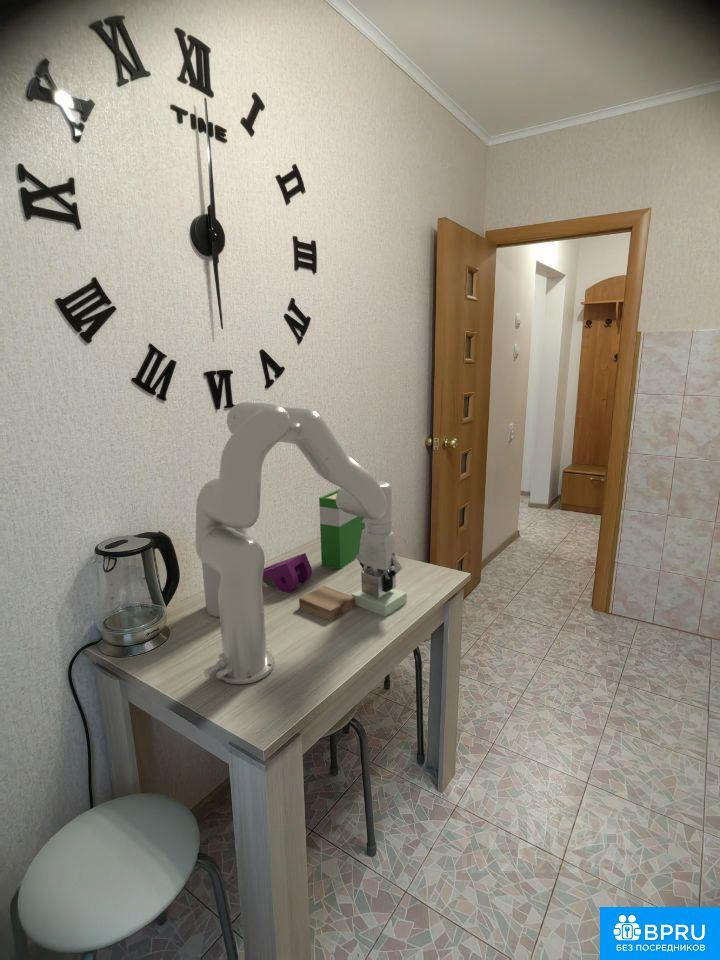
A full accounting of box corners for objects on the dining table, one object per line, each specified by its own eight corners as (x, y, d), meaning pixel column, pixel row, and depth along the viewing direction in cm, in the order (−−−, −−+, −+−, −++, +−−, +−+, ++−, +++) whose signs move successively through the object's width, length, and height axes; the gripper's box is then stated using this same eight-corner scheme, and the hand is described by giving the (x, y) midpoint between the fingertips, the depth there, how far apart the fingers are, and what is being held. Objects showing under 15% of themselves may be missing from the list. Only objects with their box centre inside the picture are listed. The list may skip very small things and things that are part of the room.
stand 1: (330, 621, 131) (330, 610, 130) (299, 607, 138) (299, 598, 137) (354, 606, 138) (354, 597, 137) (324, 595, 146) (323, 585, 145)
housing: (378, 597, 134) (378, 574, 133) (361, 591, 138) (361, 568, 136) (395, 587, 140) (395, 564, 139) (378, 582, 144) (378, 559, 142)
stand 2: (385, 616, 133) (385, 606, 132) (351, 603, 140) (351, 593, 139) (406, 602, 140) (406, 592, 139) (373, 591, 148) (373, 581, 147)
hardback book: (347, 548, 182) (346, 486, 177) (365, 551, 179) (364, 488, 173) (321, 565, 167) (319, 497, 162) (340, 569, 164) (338, 500, 158)
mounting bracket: (257, 601, 155) (297, 589, 145) (247, 577, 155) (286, 563, 145) (277, 589, 163) (315, 577, 153) (267, 566, 163) (305, 552, 153)
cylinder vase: (236, 593, 148) (230, 514, 142) (260, 606, 139) (254, 522, 134) (198, 608, 139) (189, 524, 133) (221, 623, 131) (213, 534, 125)
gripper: (345, 524, 137) (346, 583, 141) (395, 536, 127) (395, 600, 131) (362, 517, 143) (363, 575, 147) (412, 529, 132) (411, 590, 136)
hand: (378, 586), depth 139 cm, fingers closed on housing, 6 cm apart
